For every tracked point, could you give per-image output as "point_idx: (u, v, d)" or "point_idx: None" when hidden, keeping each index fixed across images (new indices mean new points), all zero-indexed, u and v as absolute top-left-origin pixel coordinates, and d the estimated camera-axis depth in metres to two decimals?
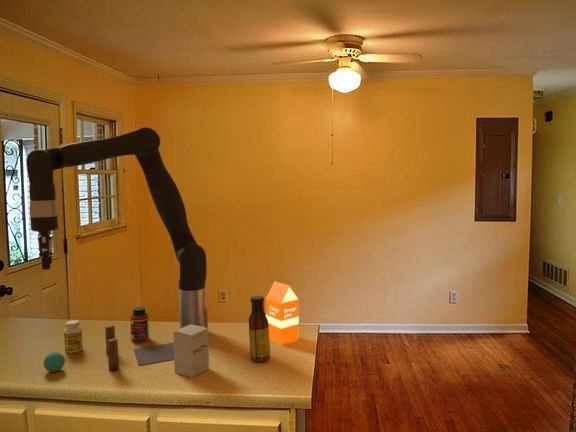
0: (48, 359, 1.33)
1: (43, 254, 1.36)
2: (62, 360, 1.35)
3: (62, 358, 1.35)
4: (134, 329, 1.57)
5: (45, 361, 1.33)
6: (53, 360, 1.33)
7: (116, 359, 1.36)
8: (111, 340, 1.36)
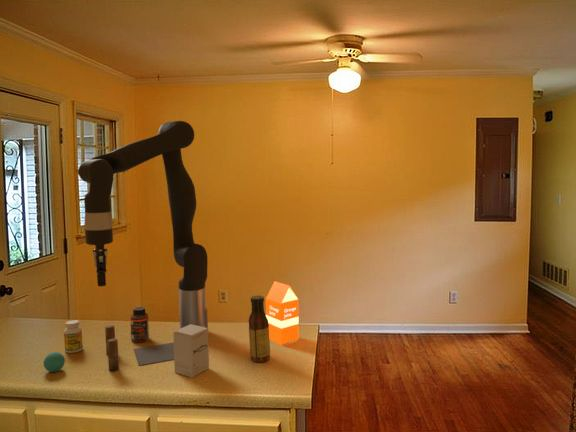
0: (48, 359, 1.33)
1: (100, 271, 1.33)
2: (62, 360, 1.35)
3: (62, 358, 1.35)
4: (134, 329, 1.57)
5: (45, 361, 1.33)
6: (53, 360, 1.33)
7: (116, 359, 1.36)
8: (111, 340, 1.36)
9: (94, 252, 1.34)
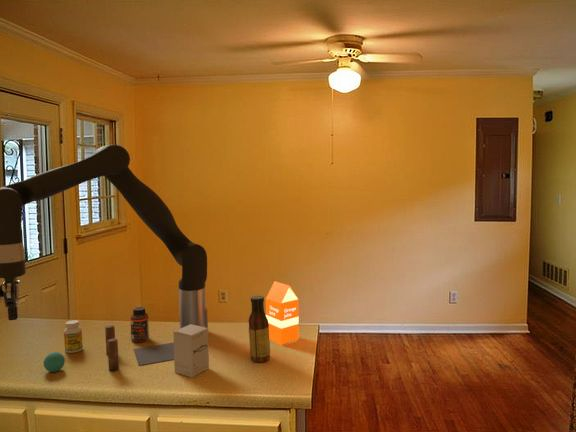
0: (48, 359, 1.33)
1: (9, 305, 1.27)
2: (62, 360, 1.35)
3: (62, 358, 1.35)
4: (134, 329, 1.57)
5: (45, 361, 1.33)
6: (53, 360, 1.33)
7: (116, 359, 1.36)
8: (111, 340, 1.36)
9: (3, 286, 1.27)
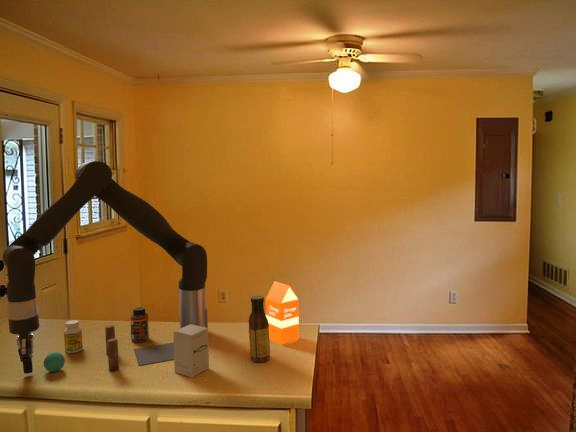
0: (48, 359, 1.33)
1: (24, 360, 1.30)
2: (62, 360, 1.35)
3: (62, 358, 1.35)
4: (134, 329, 1.57)
5: (45, 361, 1.33)
6: (53, 360, 1.33)
7: (116, 359, 1.36)
8: (111, 340, 1.36)
9: (18, 341, 1.30)
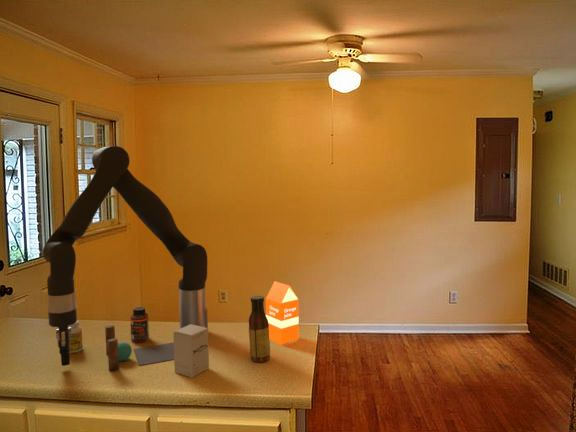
0: (119, 348, 1.41)
1: (63, 352, 1.33)
2: (130, 351, 1.43)
3: (130, 349, 1.43)
4: (134, 329, 1.57)
5: None
6: (123, 349, 1.41)
7: (116, 359, 1.36)
8: (111, 340, 1.36)
9: (57, 334, 1.34)
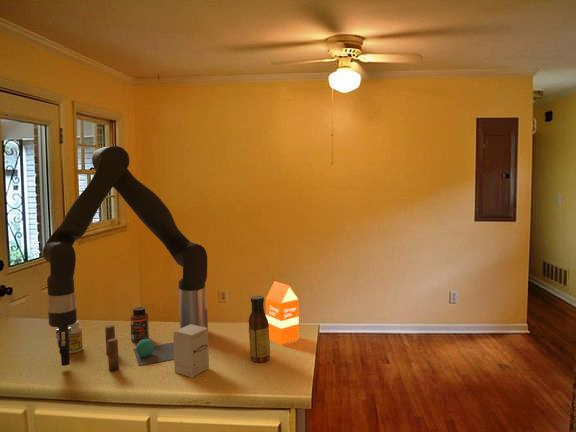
0: (152, 352, 1.45)
1: (63, 352, 1.33)
2: (140, 355, 1.44)
3: None
4: (134, 329, 1.57)
5: (153, 348, 1.45)
6: (148, 354, 1.44)
7: (116, 359, 1.36)
8: (111, 340, 1.36)
9: (57, 334, 1.34)
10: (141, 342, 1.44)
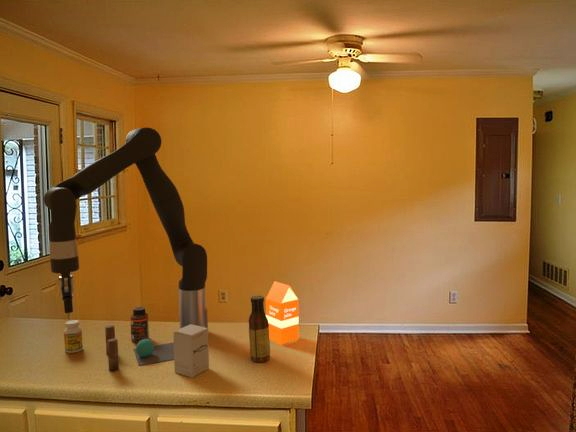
0: (152, 352, 1.45)
1: (66, 298, 1.34)
2: (140, 355, 1.44)
3: None
4: (134, 329, 1.57)
5: (153, 348, 1.45)
6: (148, 354, 1.44)
7: (116, 359, 1.36)
8: (111, 340, 1.36)
9: (60, 281, 1.34)
10: (141, 342, 1.44)
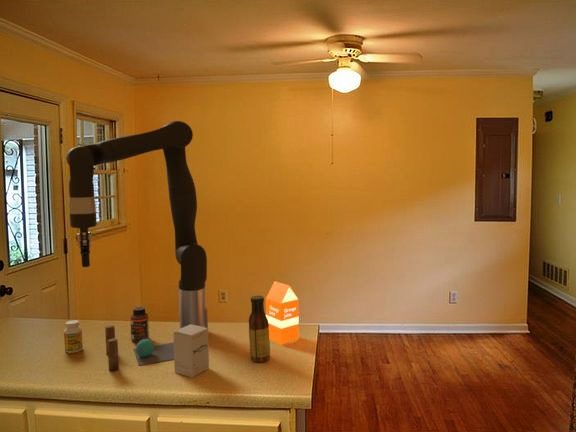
0: (152, 352, 1.45)
1: (84, 252, 1.41)
2: (140, 355, 1.44)
3: None
4: (134, 329, 1.57)
5: (153, 348, 1.45)
6: (148, 354, 1.44)
7: (116, 359, 1.36)
8: (111, 340, 1.36)
9: (78, 235, 1.41)
10: (141, 342, 1.44)
